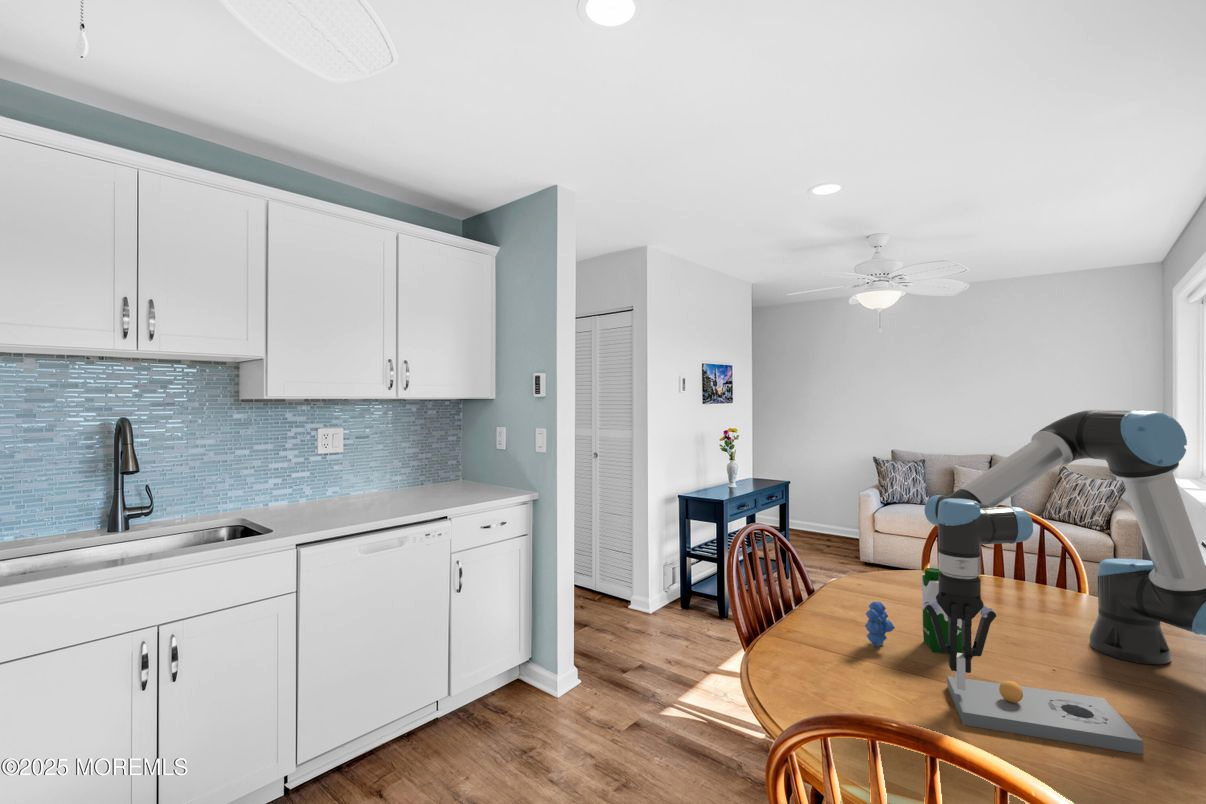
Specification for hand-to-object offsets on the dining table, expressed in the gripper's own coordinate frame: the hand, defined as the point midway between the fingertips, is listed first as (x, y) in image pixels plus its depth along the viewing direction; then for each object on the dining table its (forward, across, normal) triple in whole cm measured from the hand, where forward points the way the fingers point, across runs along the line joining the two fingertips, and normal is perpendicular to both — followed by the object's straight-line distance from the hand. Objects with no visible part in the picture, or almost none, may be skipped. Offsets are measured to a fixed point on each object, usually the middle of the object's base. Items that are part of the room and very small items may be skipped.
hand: (960, 686), depth 122 cm
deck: (+4, +13, 0) cm, 14 cm away
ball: (0, +9, 0) cm, 9 cm away
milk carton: (+4, +2, +31) cm, 31 cm away
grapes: (+4, -13, +26) cm, 29 cm away
